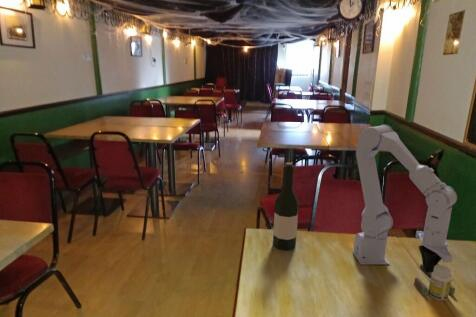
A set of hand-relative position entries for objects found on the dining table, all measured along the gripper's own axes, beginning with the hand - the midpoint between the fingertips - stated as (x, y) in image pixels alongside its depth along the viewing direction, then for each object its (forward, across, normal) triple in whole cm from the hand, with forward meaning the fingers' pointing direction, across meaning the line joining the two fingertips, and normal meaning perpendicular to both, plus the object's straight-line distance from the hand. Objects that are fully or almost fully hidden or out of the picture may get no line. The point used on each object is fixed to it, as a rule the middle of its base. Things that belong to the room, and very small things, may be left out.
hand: (427, 271), depth 100 cm
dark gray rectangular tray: (+4, +5, -6) cm, 8 cm away
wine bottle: (+4, +22, +38) cm, 45 cm away
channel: (+4, -4, 0) cm, 5 cm away
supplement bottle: (+4, -6, 0) cm, 7 cm away
